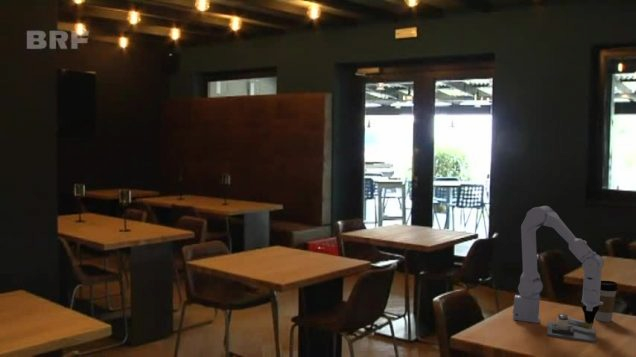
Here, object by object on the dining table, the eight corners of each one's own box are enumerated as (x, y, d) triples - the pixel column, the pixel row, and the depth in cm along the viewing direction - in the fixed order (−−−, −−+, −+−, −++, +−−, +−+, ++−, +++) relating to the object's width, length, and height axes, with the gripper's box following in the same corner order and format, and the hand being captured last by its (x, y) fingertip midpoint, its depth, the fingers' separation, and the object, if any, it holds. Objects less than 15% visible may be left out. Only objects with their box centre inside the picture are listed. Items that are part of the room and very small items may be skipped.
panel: (547, 336, 216) (547, 330, 216) (547, 323, 231) (548, 318, 231) (596, 343, 211) (596, 337, 211) (594, 329, 226) (594, 324, 225)
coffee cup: (617, 323, 234) (620, 285, 233) (594, 321, 236) (596, 283, 235) (611, 317, 242) (614, 280, 241) (588, 315, 244) (591, 278, 243)
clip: (556, 321, 227) (556, 314, 226) (560, 319, 229) (560, 313, 229) (588, 329, 218) (589, 323, 218) (592, 328, 220) (593, 321, 220)
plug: (555, 331, 219) (556, 318, 218) (555, 328, 223) (556, 314, 223) (569, 334, 217) (570, 319, 217) (569, 330, 222) (570, 316, 221)
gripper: (603, 295, 212) (600, 333, 213) (604, 286, 225) (601, 322, 226) (580, 292, 215) (578, 329, 216) (583, 283, 228) (581, 319, 229)
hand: (588, 325), depth 221 cm, fingers closed, pressing on clip
